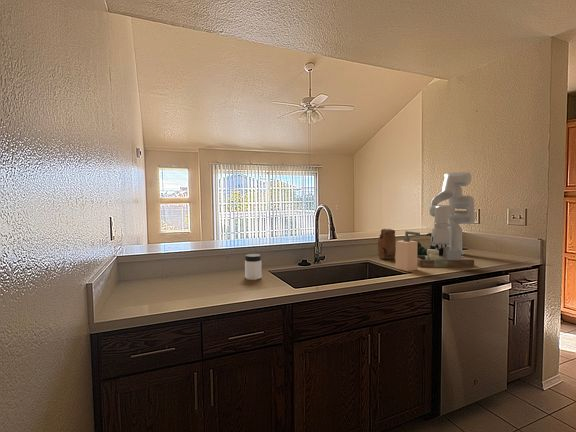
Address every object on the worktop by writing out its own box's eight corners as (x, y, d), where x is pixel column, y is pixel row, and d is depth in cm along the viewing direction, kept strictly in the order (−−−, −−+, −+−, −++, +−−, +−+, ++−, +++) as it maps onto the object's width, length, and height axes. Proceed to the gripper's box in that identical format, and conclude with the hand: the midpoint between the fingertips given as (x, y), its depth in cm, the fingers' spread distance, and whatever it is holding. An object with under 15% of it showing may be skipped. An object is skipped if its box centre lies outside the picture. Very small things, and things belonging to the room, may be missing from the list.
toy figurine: (439, 261, 214) (408, 253, 235) (442, 234, 212) (410, 227, 233) (431, 263, 209) (399, 254, 230) (434, 235, 207) (402, 228, 228)
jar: (254, 275, 174) (253, 253, 174) (264, 277, 169) (264, 254, 168) (241, 278, 167) (241, 255, 167) (252, 280, 162) (252, 257, 161)
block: (389, 257, 223) (389, 228, 222) (396, 259, 216) (397, 229, 215) (376, 258, 220) (376, 229, 218) (383, 260, 213) (383, 230, 211)
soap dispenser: (395, 268, 188) (395, 231, 187) (404, 266, 193) (405, 230, 191) (413, 272, 177) (414, 233, 176) (423, 270, 182) (424, 232, 181)
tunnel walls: (435, 255, 207) (436, 246, 206) (448, 255, 207) (448, 246, 206) (447, 260, 192) (447, 250, 191) (460, 260, 192) (461, 250, 191)
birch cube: (427, 257, 201) (427, 249, 201) (434, 257, 201) (435, 249, 201) (430, 258, 196) (430, 250, 196) (438, 258, 196) (439, 250, 196)
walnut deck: (410, 261, 207) (410, 255, 207) (460, 261, 207) (460, 255, 207) (419, 266, 192) (419, 260, 192) (474, 266, 192) (474, 259, 192)
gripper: (450, 225, 202) (449, 254, 203) (426, 225, 202) (425, 254, 203) (456, 226, 194) (455, 256, 195) (431, 226, 194) (431, 256, 195)
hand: (440, 255), depth 199 cm, fingers closed
